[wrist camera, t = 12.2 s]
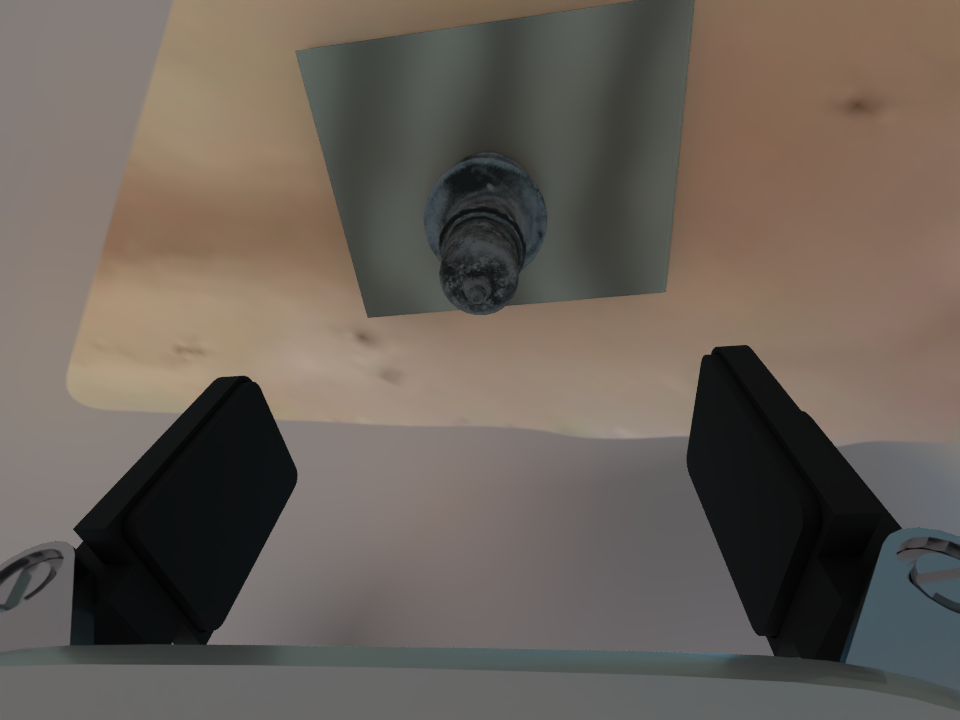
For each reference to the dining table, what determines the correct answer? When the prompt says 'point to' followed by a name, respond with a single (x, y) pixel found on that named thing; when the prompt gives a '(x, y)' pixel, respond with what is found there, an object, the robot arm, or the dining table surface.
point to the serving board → (511, 143)
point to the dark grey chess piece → (484, 230)
